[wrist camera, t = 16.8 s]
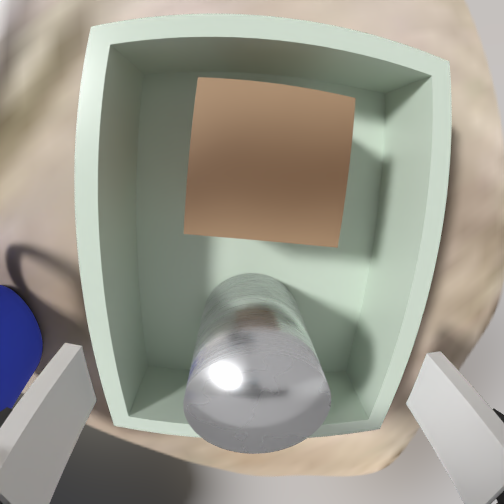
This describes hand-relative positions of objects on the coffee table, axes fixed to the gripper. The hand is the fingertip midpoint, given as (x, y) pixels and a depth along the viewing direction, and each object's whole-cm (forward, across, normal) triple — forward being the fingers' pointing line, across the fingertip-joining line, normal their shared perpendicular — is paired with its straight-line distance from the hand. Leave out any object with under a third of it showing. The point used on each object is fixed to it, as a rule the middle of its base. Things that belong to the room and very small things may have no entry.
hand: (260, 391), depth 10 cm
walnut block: (+6, 0, +8) cm, 10 cm away
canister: (+6, 0, 0) cm, 6 cm away
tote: (+7, 0, +4) cm, 8 cm away
